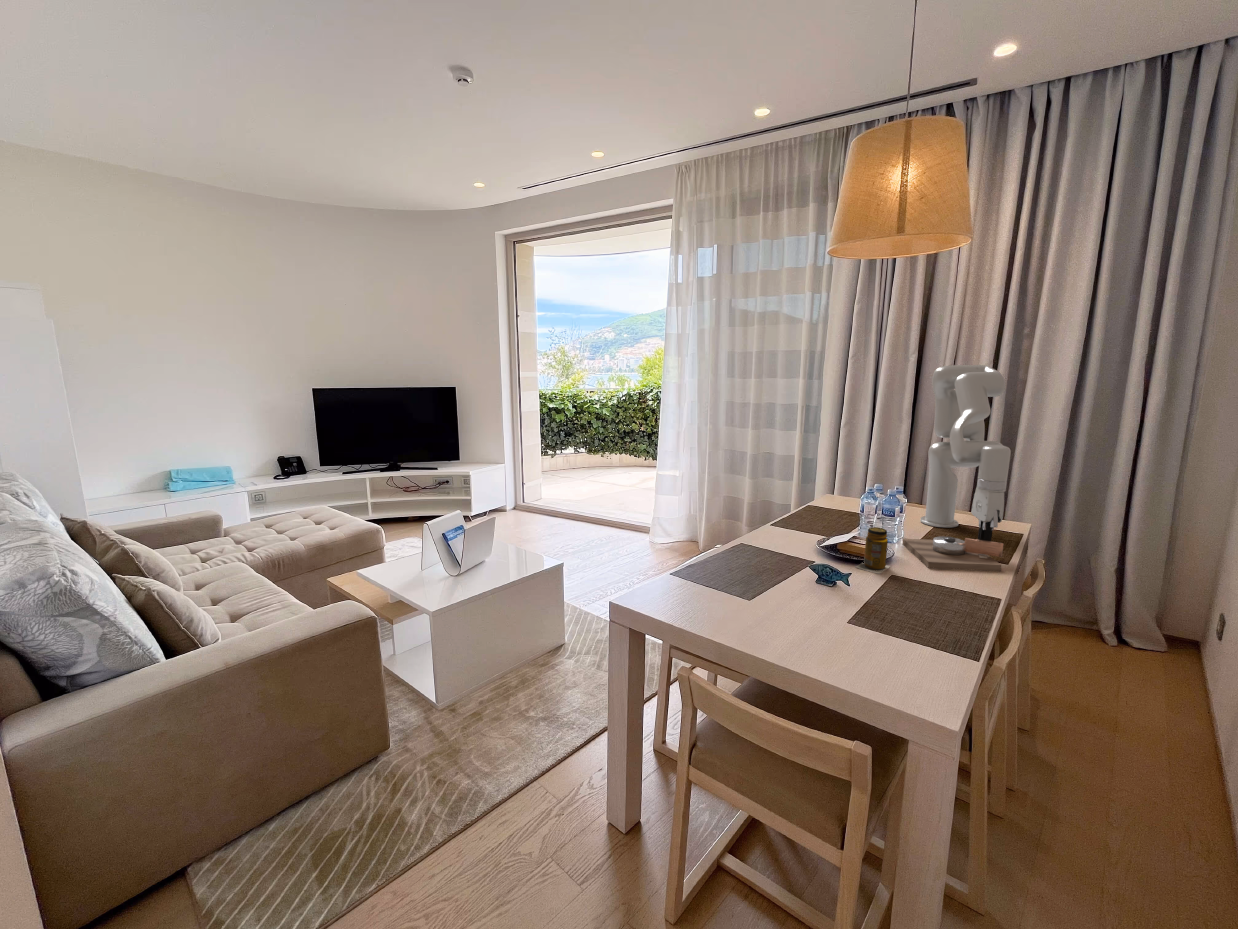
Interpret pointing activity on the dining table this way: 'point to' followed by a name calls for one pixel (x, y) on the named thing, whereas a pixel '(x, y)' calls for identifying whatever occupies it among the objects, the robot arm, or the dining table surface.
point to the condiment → (875, 551)
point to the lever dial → (967, 546)
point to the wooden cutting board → (949, 557)
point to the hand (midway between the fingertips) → (984, 540)
